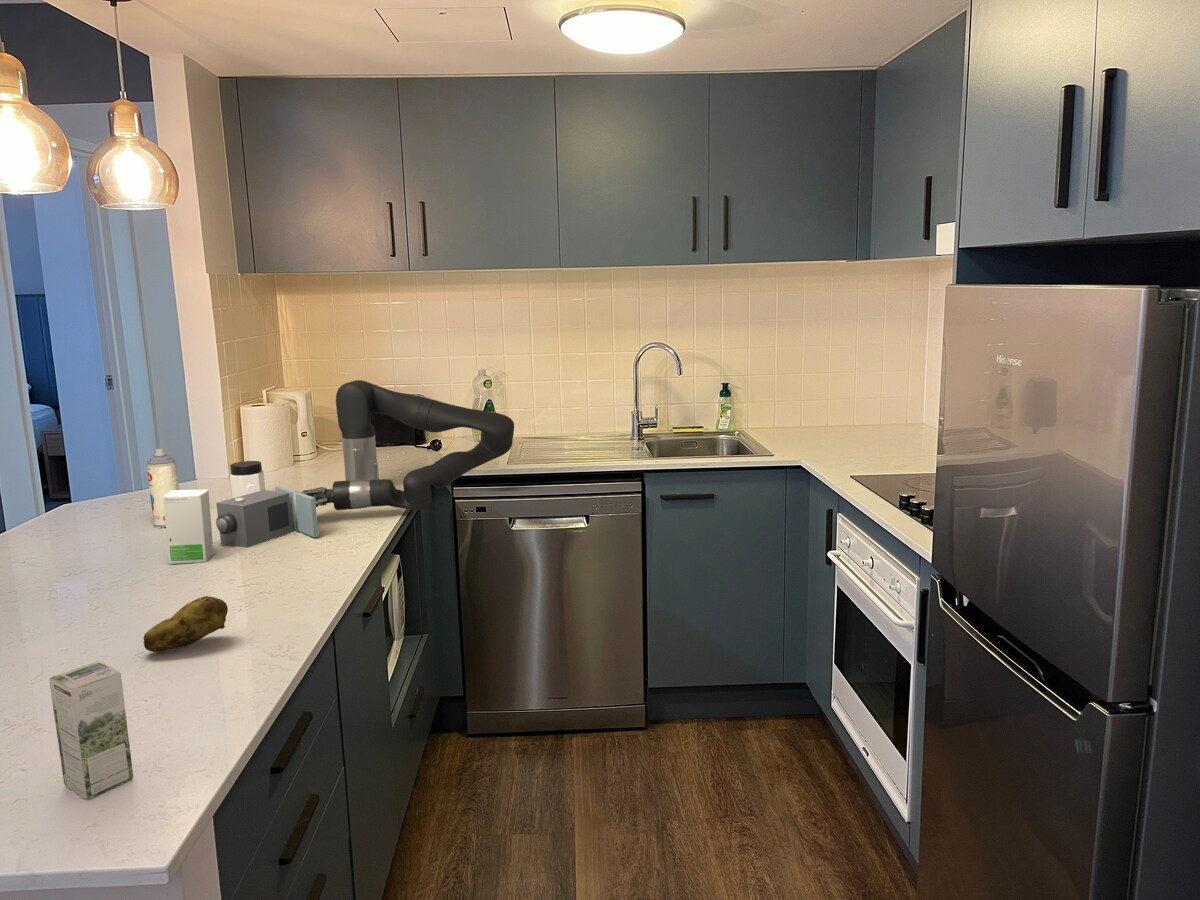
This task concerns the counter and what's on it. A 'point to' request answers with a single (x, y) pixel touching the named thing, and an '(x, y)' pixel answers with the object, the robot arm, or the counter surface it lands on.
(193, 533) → the skincare box
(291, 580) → the counter surface
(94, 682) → the syrup box
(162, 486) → the aerosol can
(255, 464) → the jar
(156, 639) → the potato
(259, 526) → the block
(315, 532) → the side door
